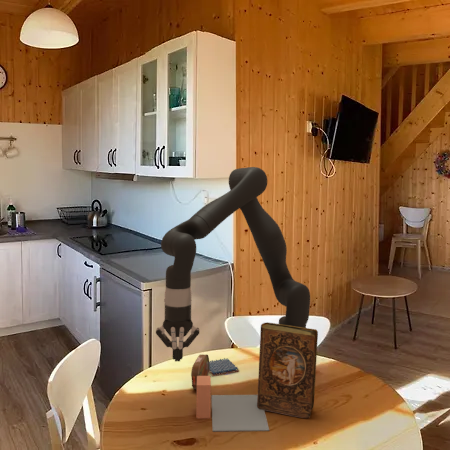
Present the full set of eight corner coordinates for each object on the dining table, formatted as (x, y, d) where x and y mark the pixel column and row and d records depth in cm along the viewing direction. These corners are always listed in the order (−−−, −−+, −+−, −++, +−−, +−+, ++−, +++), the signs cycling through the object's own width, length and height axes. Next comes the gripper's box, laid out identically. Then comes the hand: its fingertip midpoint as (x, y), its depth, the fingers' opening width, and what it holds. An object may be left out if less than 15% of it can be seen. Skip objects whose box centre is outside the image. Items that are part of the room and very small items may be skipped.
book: (255, 408, 144) (258, 327, 140) (259, 400, 149) (263, 321, 145) (310, 419, 138) (315, 336, 135) (313, 410, 144) (318, 329, 140)
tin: (199, 394, 153) (199, 369, 152) (189, 393, 153) (189, 368, 152) (210, 374, 167) (210, 350, 166) (201, 373, 168) (201, 349, 167)
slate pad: (260, 395, 152) (260, 394, 152) (269, 430, 132) (269, 429, 132) (211, 396, 152) (211, 395, 152) (212, 431, 132) (212, 430, 132)
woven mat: (227, 361, 178) (227, 356, 178) (240, 373, 169) (240, 368, 169) (201, 366, 174) (201, 361, 174) (212, 378, 165) (212, 373, 164)
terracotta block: (210, 407, 145) (210, 375, 143) (210, 418, 139) (210, 385, 137) (196, 407, 144) (196, 375, 143) (196, 418, 138) (196, 385, 137)
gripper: (201, 298, 141) (200, 355, 143) (155, 298, 140) (155, 355, 142) (201, 306, 133) (200, 365, 136) (153, 305, 133) (153, 365, 135)
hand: (177, 360), depth 139 cm, fingers closed
